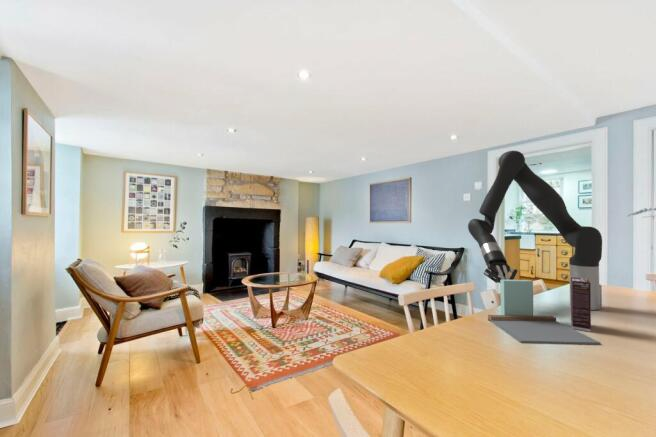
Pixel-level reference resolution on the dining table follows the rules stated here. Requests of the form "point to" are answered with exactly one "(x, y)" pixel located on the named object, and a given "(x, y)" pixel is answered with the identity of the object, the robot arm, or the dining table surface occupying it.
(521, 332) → the grey board with ledge
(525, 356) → the dining table surface
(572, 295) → the supplement box
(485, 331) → the dining table surface
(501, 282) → the tile
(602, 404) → the dining table surface
